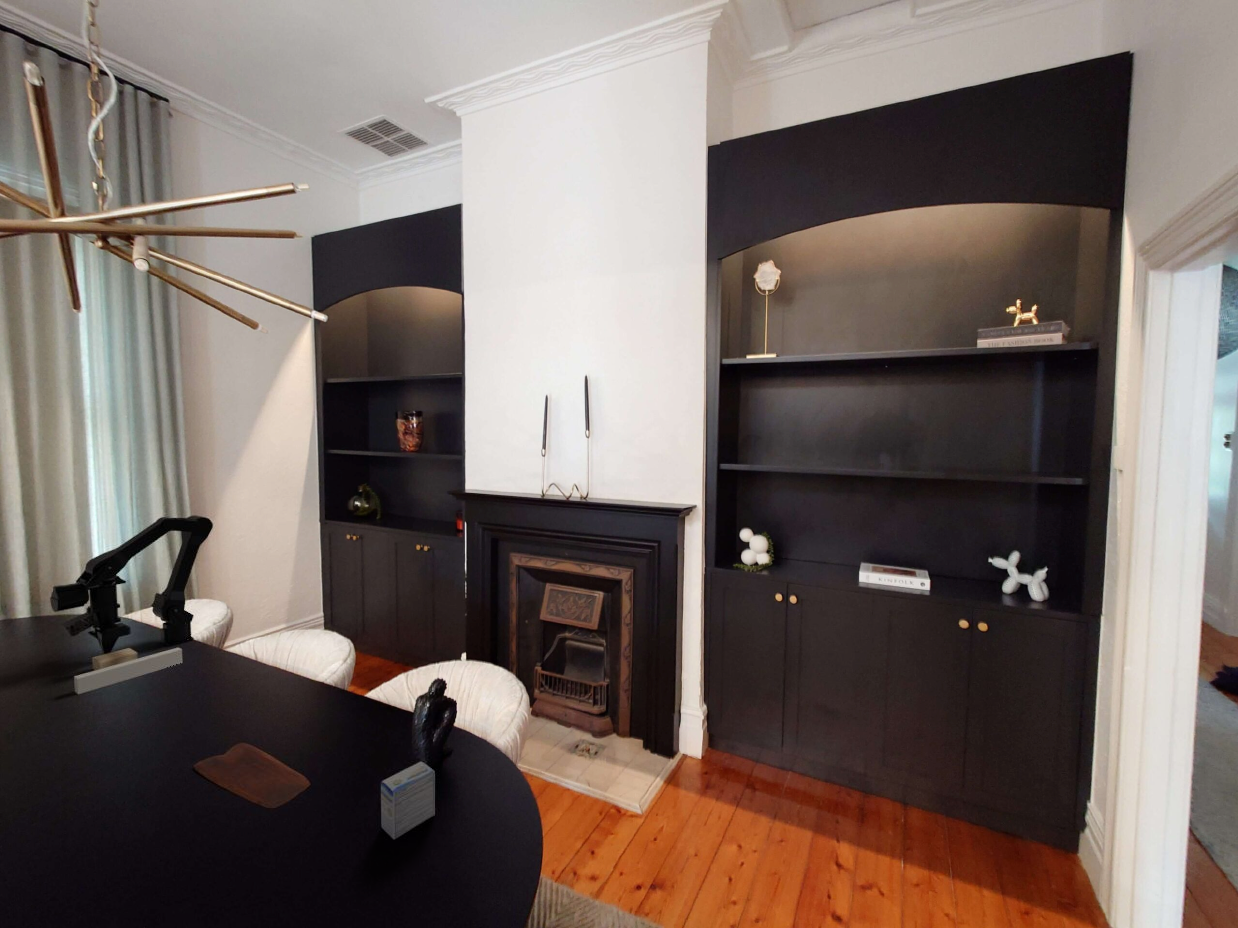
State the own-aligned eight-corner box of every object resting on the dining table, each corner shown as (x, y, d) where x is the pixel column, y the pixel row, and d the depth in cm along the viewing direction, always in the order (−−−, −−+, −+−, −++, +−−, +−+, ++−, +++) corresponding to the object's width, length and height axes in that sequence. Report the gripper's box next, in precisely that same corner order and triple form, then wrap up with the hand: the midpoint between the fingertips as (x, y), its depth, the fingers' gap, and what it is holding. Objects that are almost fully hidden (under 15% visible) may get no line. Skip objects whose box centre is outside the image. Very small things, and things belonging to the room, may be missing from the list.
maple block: (129, 659, 161) (129, 647, 161) (137, 664, 158) (137, 652, 158) (93, 669, 155) (92, 657, 154) (100, 675, 151) (99, 662, 151)
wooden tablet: (189, 771, 112) (188, 763, 112) (242, 746, 121) (242, 738, 121) (266, 817, 99) (265, 809, 99) (319, 786, 108) (319, 777, 108)
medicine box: (422, 804, 103) (421, 759, 102) (435, 815, 100) (435, 769, 99) (380, 828, 97) (379, 780, 96) (394, 841, 94) (393, 791, 93)
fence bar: (178, 660, 160) (178, 647, 160) (182, 662, 159) (181, 649, 159) (75, 691, 142) (74, 676, 141) (78, 694, 140) (77, 678, 140)
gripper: (54, 603, 157) (57, 657, 158) (76, 616, 147) (79, 674, 148) (106, 593, 166) (108, 644, 167) (130, 605, 156) (132, 659, 157)
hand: (106, 655), depth 160 cm, fingers closed
